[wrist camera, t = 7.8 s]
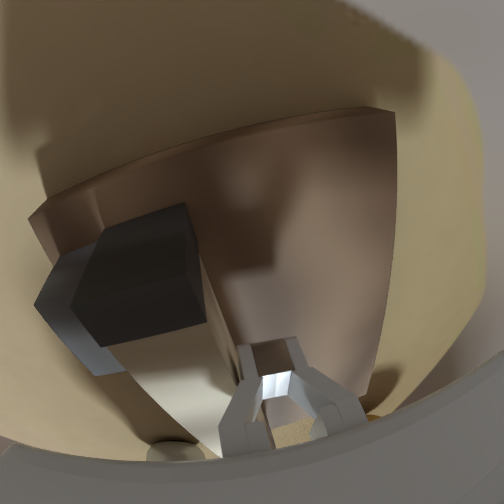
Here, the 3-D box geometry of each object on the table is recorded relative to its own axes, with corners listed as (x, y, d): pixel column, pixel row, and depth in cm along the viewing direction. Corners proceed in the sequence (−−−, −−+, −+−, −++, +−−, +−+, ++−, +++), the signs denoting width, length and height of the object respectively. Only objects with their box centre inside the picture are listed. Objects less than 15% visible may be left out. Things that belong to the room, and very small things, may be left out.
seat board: (205, 425, 23) (212, 472, 19) (46, 199, 10) (-9, 261, 6) (357, 378, 24) (379, 419, 20) (367, 106, 11) (448, 127, 7)
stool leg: (269, 420, 20) (282, 464, 17) (231, 430, 20) (241, 474, 16) (185, 202, 10) (185, 273, 6) (103, 229, 9) (69, 306, 6)
